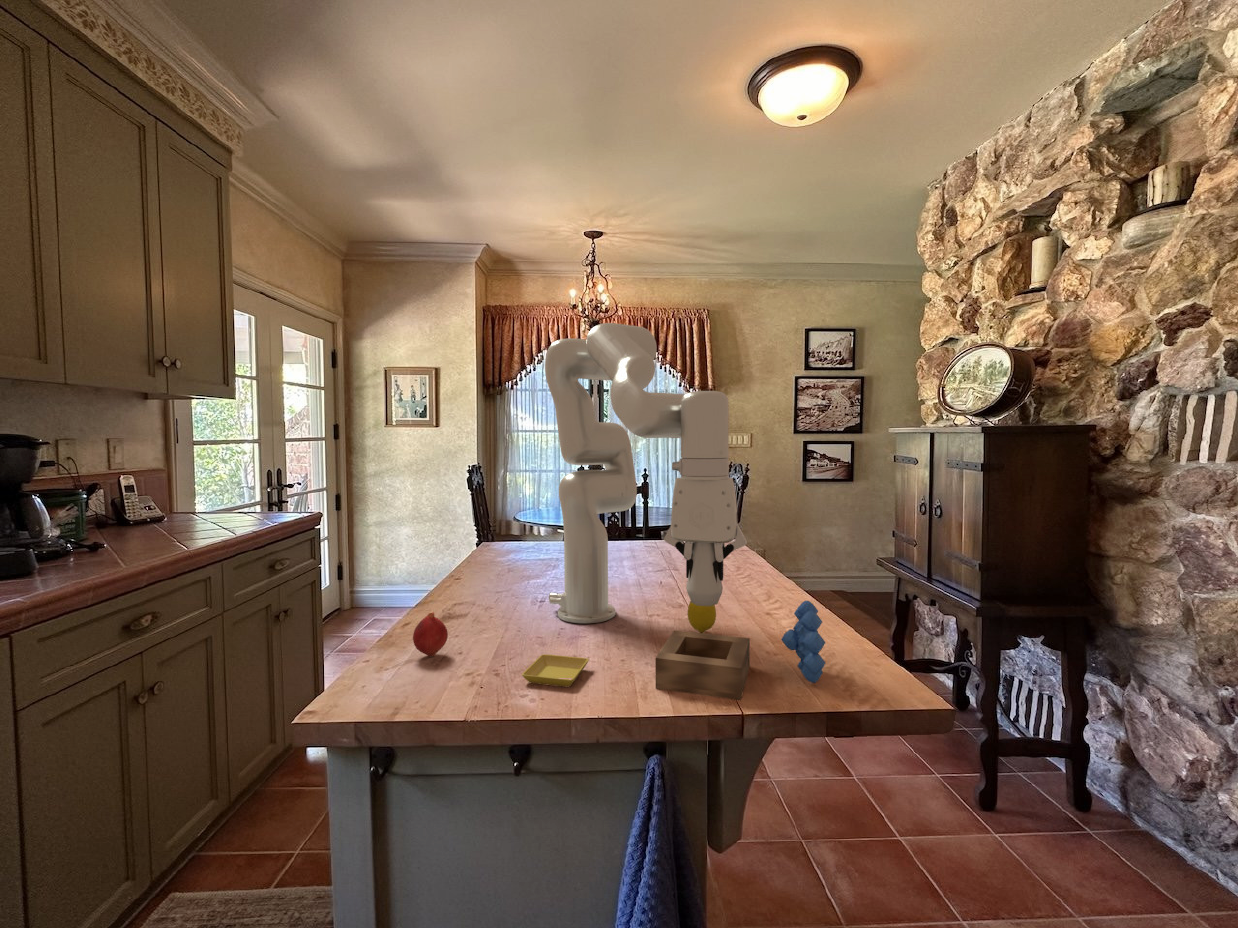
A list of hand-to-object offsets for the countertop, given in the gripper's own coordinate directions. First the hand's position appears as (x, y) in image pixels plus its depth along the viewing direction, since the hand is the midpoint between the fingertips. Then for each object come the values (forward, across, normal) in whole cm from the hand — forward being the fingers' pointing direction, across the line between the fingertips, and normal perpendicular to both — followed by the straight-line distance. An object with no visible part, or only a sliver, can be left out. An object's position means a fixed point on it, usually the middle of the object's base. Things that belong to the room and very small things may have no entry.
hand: (704, 582), depth 91 cm
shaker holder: (+15, 0, 0) cm, 15 cm away
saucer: (+16, -23, -7) cm, 29 cm away
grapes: (+16, +15, +5) cm, 22 cm away
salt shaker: (+3, 0, 0) cm, 3 cm away
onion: (+16, -48, -6) cm, 51 cm away
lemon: (+16, -4, +20) cm, 26 cm away
